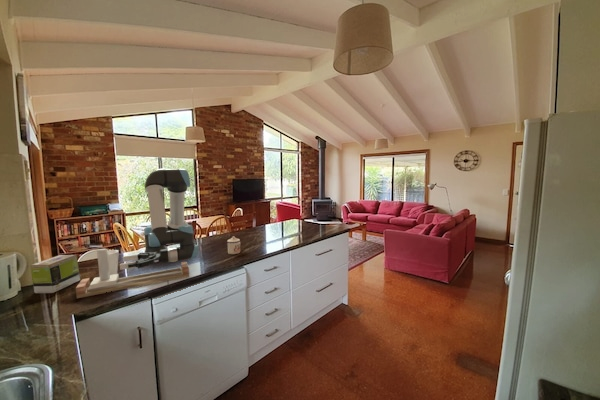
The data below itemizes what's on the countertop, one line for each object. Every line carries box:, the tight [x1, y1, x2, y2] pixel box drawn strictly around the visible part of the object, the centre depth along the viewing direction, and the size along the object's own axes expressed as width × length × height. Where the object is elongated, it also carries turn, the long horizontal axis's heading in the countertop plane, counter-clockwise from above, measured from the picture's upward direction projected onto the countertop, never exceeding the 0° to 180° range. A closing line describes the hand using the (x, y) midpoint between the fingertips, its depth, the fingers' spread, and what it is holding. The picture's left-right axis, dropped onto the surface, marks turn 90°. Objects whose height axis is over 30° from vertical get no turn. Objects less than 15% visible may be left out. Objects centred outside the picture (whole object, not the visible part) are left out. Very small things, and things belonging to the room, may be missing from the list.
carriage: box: [90, 248, 120, 289], centre depth 126 cm, size 10×10×17 cm
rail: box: [75, 261, 190, 299], centre depth 134 cm, size 12×48×5 cm, turn 119°
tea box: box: [29, 254, 81, 294], centre depth 130 cm, size 15×10×15 cm, turn 178°
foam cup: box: [107, 249, 120, 275], centre depth 145 cm, size 10×9×13 cm
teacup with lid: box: [226, 236, 241, 255], centre depth 183 cm, size 12×9×12 cm
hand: (121, 262), depth 129 cm, fingers open, 13 cm apart
